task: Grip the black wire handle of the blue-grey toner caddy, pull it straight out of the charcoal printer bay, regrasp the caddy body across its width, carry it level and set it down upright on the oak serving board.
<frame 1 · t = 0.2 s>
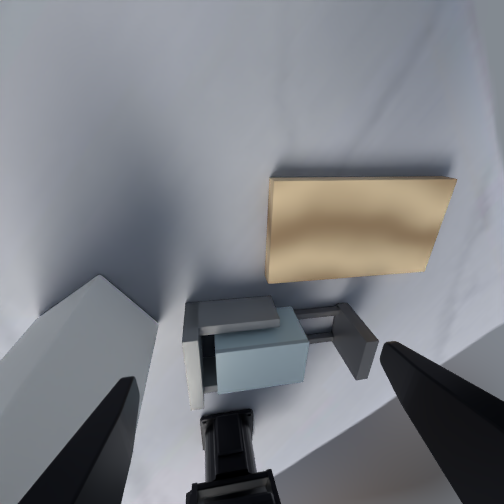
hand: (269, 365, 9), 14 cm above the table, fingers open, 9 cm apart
bay: (235, 331, 27), on the table
milk carton: (102, 318, 24), on the table
board: (351, 227, 24), on the table
caddy: (252, 328, 27), on the table
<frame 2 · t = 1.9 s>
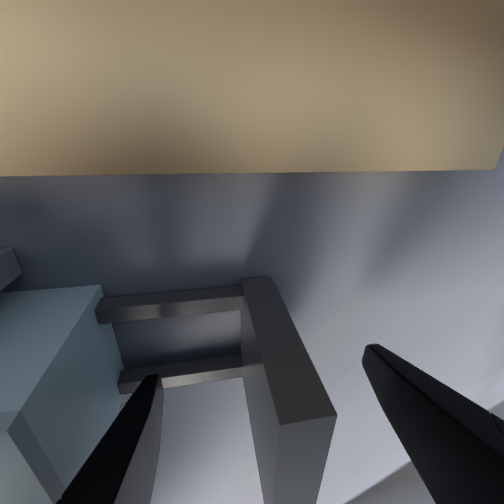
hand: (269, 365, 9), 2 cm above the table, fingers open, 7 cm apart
caddy: (2, 349, 10), on the table
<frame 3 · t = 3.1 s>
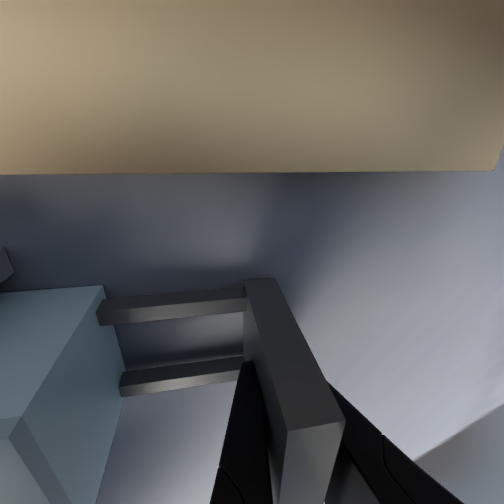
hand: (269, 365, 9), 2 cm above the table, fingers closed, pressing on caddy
caddy: (1, 351, 10), on the table, touching gripper
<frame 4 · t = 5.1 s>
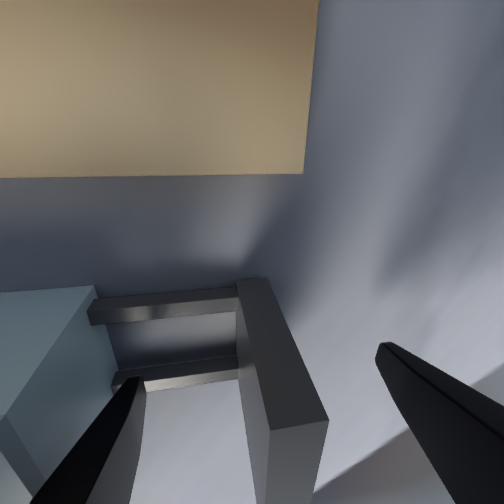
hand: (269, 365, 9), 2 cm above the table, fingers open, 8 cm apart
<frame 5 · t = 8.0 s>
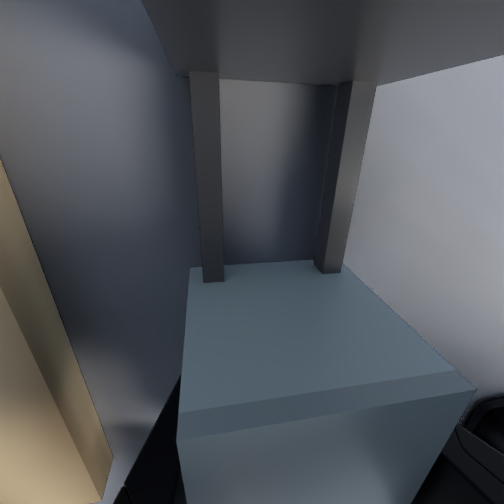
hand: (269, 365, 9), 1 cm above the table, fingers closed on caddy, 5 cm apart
caddy: (262, 351, 10), on the table, touching gripper
when the fingers open (4 cm above the table, at t = 11.9 s): caddy stays where it is, resting on board.
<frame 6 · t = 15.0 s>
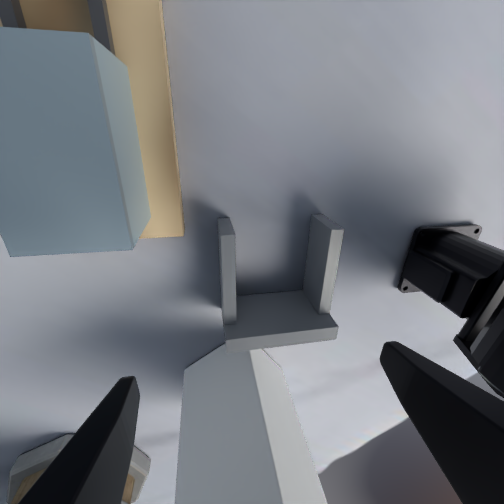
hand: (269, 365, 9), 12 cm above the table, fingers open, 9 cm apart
bay: (269, 257, 21), on the table
tankard: (57, 480, 29), on the table
milk carton: (234, 366, 26), on the table
board: (90, 99, 15), on the table
caddy: (93, 150, 14), point 1 cm above the table, touching board
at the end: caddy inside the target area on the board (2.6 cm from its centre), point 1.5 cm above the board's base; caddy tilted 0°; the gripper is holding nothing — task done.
